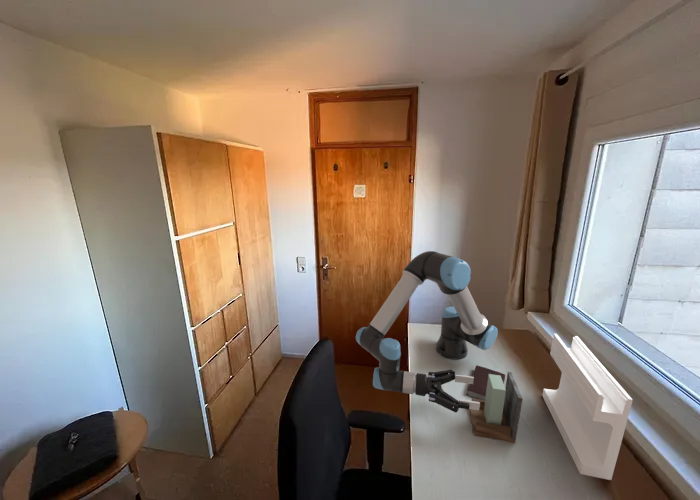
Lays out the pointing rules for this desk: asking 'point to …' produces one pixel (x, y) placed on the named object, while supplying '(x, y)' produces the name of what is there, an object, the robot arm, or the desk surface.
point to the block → (588, 408)
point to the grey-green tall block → (494, 399)
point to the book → (481, 382)
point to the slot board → (509, 416)
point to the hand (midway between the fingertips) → (476, 392)
